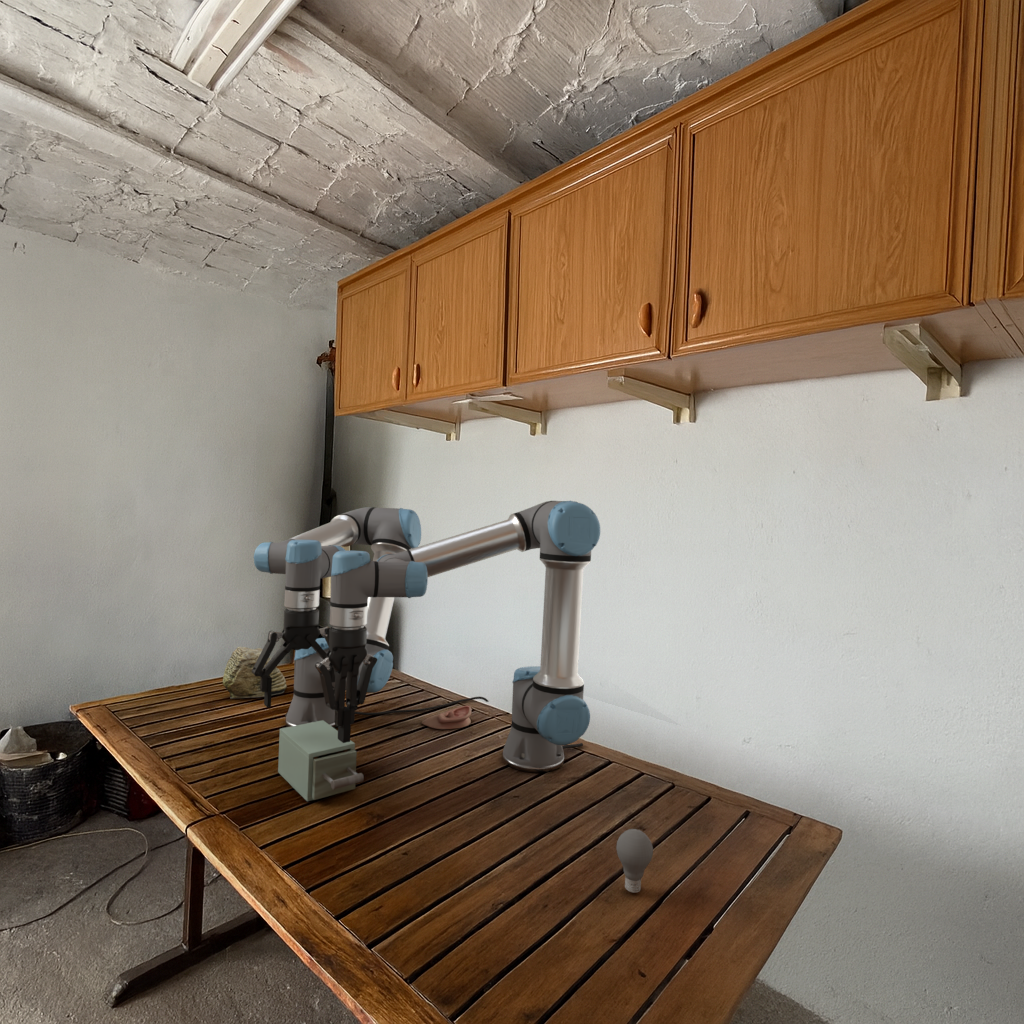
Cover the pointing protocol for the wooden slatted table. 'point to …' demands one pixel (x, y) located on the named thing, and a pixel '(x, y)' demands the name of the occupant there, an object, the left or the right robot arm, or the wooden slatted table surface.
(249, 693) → the fossil
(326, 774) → the drawer
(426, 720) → the anatomical model
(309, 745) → the cabinet
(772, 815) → the wooden slatted table surface
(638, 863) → the light bulb
